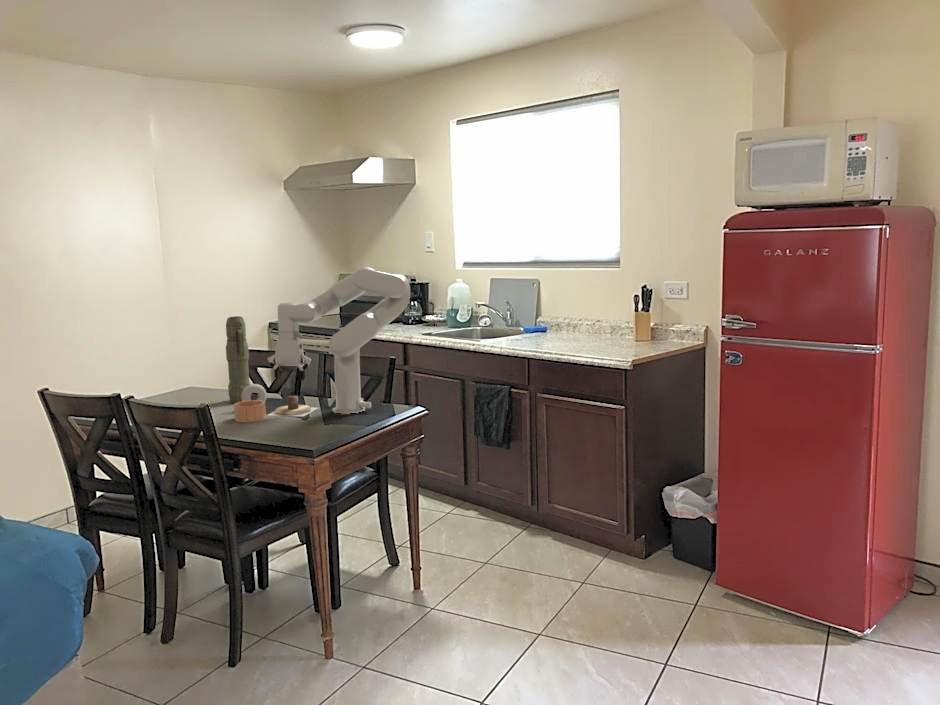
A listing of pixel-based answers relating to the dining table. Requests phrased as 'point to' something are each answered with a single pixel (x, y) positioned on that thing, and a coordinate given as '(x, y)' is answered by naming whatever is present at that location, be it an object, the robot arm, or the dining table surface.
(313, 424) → the dining table surface
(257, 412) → the bowl
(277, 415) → the mat
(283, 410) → the lid
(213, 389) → the dining table surface
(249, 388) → the donut
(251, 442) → the dining table surface
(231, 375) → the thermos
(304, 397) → the dining table surface
